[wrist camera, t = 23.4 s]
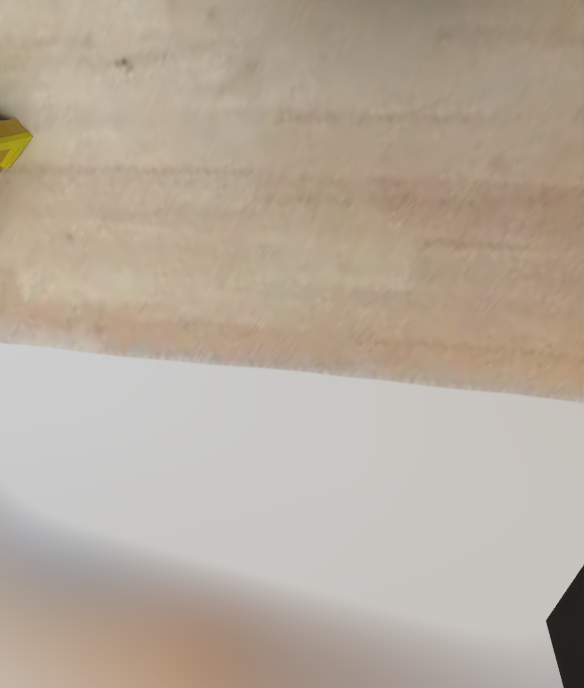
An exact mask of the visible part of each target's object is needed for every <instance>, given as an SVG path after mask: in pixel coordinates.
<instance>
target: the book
mask: <svg viewBox="0 0 584 688" xmlns="http://www.w3.org/2000/svg"><path fill="white" fill-rule="evenodd" d="M32 137H33V136H32V135H31V134H30V133H29V132H28V131H27V130H26V129H25V128H24V127H23V126H22V125H21V124H20V123H19V122H18V121H17V120H16V119H10V120H3V121H0V171H1V170H2V168H3V169H7V168H10V167H11V166H12V165H13V163H14V162H15V161H16V159H17V158H18V156H19V155H20V154H21V152H22V151H23V150H24V148H25V147H26V145H27V144H28V143H29V141H30V140H31V138H32Z"/></svg>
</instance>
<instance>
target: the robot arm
mask: <svg viewBox="0 0 584 688" xmlns="http://www.w3.org/2000/svg"><path fill="white" fill-rule="evenodd" d="M546 623H547V626H548V630H549V634H550V638H551V642H552V645H553V649H554V653H555V656H556V660H557V664H558V668H559V672H560V675H561V679H562V683H563V686H564V688H584V566H583V567H582V568H581V570H580V571H579V573H578V574H577V576H576V577H575V579H574V580H573V582H572V583H571V585H570V586H569V588H568V589H567V591H566V592H565V593H564V595H563V597H562V598H561V599H560V601H559V602H558V604H557V605H556V607H555V608H554V610H553V611H552V613H551V614H550V616H549V617H548V619H547V620H546Z"/></svg>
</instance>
